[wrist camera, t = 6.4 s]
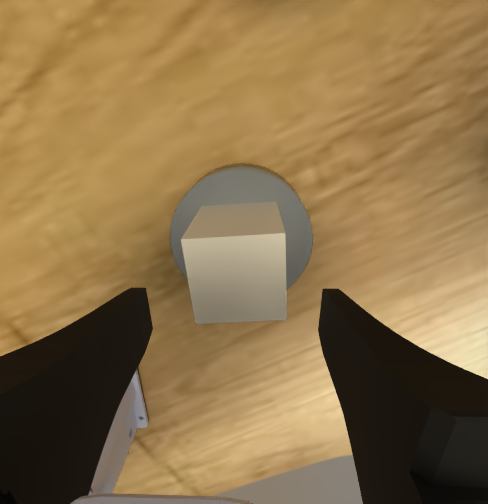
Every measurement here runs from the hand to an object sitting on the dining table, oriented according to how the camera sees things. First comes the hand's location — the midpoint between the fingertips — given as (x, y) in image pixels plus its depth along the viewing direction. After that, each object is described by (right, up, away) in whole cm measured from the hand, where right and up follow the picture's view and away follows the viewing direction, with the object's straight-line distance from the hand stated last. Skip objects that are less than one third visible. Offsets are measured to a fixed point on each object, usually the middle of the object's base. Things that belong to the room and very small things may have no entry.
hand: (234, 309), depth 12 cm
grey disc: (0, +4, +10) cm, 11 cm away
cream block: (0, +3, +6) cm, 7 cm away
